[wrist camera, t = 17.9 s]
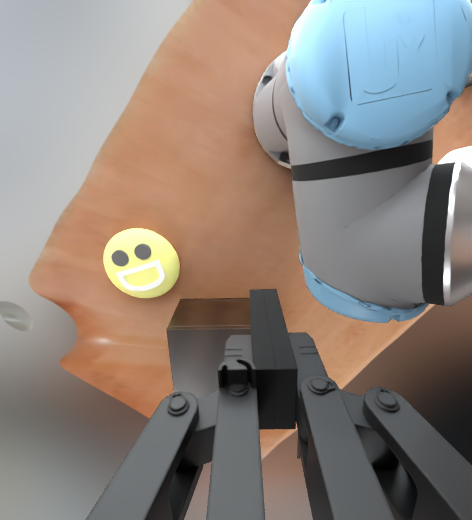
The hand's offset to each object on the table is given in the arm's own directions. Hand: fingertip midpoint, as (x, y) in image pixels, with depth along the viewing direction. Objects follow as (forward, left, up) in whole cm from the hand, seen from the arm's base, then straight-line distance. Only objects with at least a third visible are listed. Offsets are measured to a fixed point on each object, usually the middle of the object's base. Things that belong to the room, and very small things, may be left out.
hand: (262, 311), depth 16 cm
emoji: (+18, +2, -30) cm, 35 cm away
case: (+10, +18, -29) cm, 36 cm away
